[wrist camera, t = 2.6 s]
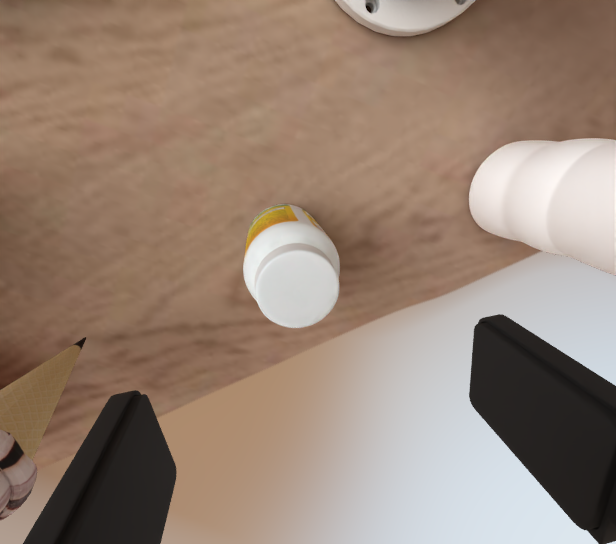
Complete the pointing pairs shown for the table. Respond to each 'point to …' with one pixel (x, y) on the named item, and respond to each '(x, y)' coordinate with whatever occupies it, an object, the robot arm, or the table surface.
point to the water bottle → (551, 197)
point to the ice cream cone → (28, 424)
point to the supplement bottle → (291, 266)
